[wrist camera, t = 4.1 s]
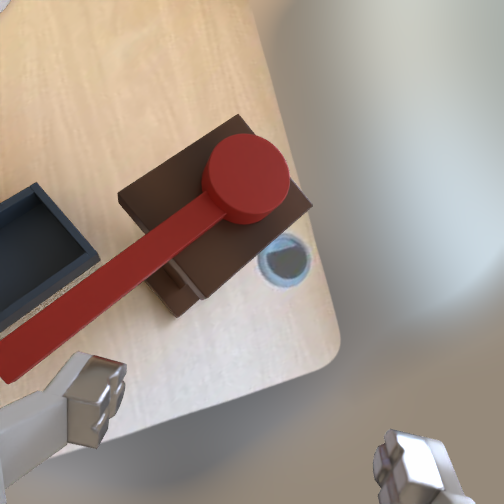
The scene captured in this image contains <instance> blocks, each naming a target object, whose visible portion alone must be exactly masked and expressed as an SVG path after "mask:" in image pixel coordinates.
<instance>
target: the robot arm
mask: <svg viewBox="0 0 504 504" xmlns="http://www.w3.org/2000/svg"><path fill="white" fill-rule="evenodd" d="M10 1H11V0H0V13H1V12H2V11H3V10H4V9H5V8H6V7H7V5H8V4H9V3H10ZM126 370H127V365H126V364H124V363H121V362H117V361H114V360H110V359H106V358H103V357H99V356H95V355H91V354H87V353H83V352H80V351H77V352H76V353H74V354H73V355H72V356H71V357H70V358H69V360H68V361H67V362H66V363H65V365H64V366H63V367H62V368H61V370H60V371H59V372H58V373H57V375H56V376H55V377H54V378H53V379H52V381H51V382H50V383H49V384H48V386H47V387H46V388H45V389H44V391H43V392H42V391H36V392H34V393H31V394H29V395H27V396H25V397H23V398H21V399H19V400H17V401H15V402H12V403H10V404H8V405H6V406H4V407H2V408H0V504H6V497H5V489H7V488H8V487H9V486H10V485H12V484H13V483H15V482H16V481H17V480H19V479H20V478H22V477H23V476H25V475H26V474H27V473H29V472H30V471H31V470H33V469H34V468H35V467H37V466H38V465H40V464H41V463H42V462H44V461H45V460H47V459H48V458H49V457H51V456H52V455H53V454H55V453H56V452H58V451H59V450H60V449H62V448H63V447H64V446H66V445H67V443H72V444H76V445H81V446H86V447H90V448H95V449H97V448H98V446H99V444H100V443H101V441H102V439H103V437H104V435H105V433H106V431H107V430H108V423H109V419H110V418H112V417H113V416H115V414H116V413H117V411H118V409H119V407H120V404H121V401H122V399H123V395H124V391H125V382H124V381H123V378H124V376H125V375H126ZM384 439H385V443H384V444H382V445H380V446H378V448H377V450H376V452H375V454H374V460H373V473H374V478H375V481H376V482H377V483H378V485H379V486H380V487H381V490H380V492H379V494H378V499H379V503H380V504H476V503H475V502H474V501H473V500H472V499H471V498H470V497H466V496H465V495H464V493H463V490H462V488H461V485H460V483H459V481H458V478H457V476H456V473H455V471H454V468H453V466H452V463H451V461H450V459H449V456H448V454H447V451H446V449H445V447H444V444H443V443H442V442H441V441H438V440H435V439H431V438H427V437H422V436H418V435H414V434H410V433H406V432H401V431H397V430H393V429H390V430H388V431H387V432H386V434H385V436H384Z"/></svg>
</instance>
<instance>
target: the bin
mask: <svg viewBox="0 0 504 504" xmlns="http://www.w3.org/2000/svg"><path fill="white" fill-rule="evenodd" d="M99 261H100V258H99V256H98V253H97V252H96V251H95V250H94V248H93V247H92V246H91V245H90V244H89V243H88V241H87V240H86V239H85V238H84V237H83V236H82V234H81V233H80V232H79V231H78V230H77V229H76V227H75V226H74V225H73V224H72V223H71V222H70V220H69V219H68V218H67V217H66V216H65V215H64V213H63V212H62V211H61V210H60V209H59V208H58V206H57V205H56V204H55V203H54V202H53V201H52V199H51V198H50V197H49V196H48V195H47V194H46V193H45V191H44V190H43V189H42V188H41V187H40V186H39V184H38V183H37V182H36V183H34V184H32V185H30V187H27V188H26V189H24V190H22V191H21V192H19V193H17V194H15V195H14V196H12V197H10V198H9V199H7V200H5V201H3V202H2V203H0V333H1V332H2V331H3V330H5V329H6V328H7V327H9V326H10V325H12V324H13V323H14V322H16V321H17V320H19V319H20V318H21V317H23V316H24V315H25V314H27V313H28V312H30V311H31V310H32V309H34V308H35V307H37V306H38V305H39V304H41V303H42V302H44V301H45V300H46V299H48V298H49V297H50V296H52V295H53V294H55V293H56V292H57V291H59V290H60V289H62V288H63V287H64V286H66V285H67V284H68V283H70V282H71V281H73V280H74V279H75V278H77V277H78V276H80V275H81V274H82V273H84V272H85V271H86V270H88V269H89V268H91V267H92V266H93V265H95V264H96V263H98V262H99Z"/></svg>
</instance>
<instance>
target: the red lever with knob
mask: <svg viewBox="0 0 504 504" xmlns="http://www.w3.org/2000/svg"><path fill="white" fill-rule="evenodd" d="M201 185H202V192H203V193H202V194H201V195H199V196H198V197H196V198H195V199H194V200H192V201H191V202H190V203H188V204H187V205H185V206H184V207H183V208H181V209H180V210H179V211H177V212H176V213H175V214H173V215H172V216H170V217H169V218H168V219H166V220H165V221H164V222H162V223H161V224H159V225H158V226H157V227H155V228H154V229H153V230H151V231H150V232H148V233H147V234H146V235H144V236H143V237H142V238H140V239H139V240H138V241H136V242H135V243H133V244H132V245H131V246H129V247H128V248H127V249H125V250H124V251H122V252H121V253H120V254H118V255H117V256H116V257H114V258H113V259H111V260H110V261H109V262H107V263H106V264H105V265H103V266H102V267H101V268H99V269H98V270H96V271H95V272H94V273H92V274H91V275H90V276H88V277H87V278H85V279H84V280H83V281H81V282H80V283H79V284H77V285H76V286H74V287H73V288H72V289H70V290H69V291H68V292H66V293H65V294H64V295H62V296H61V297H59V298H58V299H57V300H55V301H54V302H53V303H51V304H50V305H48V306H47V307H46V308H44V309H43V310H42V311H40V312H39V313H37V314H36V315H35V316H33V317H32V318H31V319H29V320H28V321H27V322H25V323H24V324H22V325H21V326H20V327H18V328H17V329H16V330H14V331H13V332H11V333H10V334H9V335H7V336H6V337H5V338H3V339H2V340H0V377H1V378H2V379H3V380H4V381H5V383H6V384H10V383H12V382H15V381H17V380H18V379H19V378H20V377H22V376H23V375H24V374H25V373H27V372H28V371H29V370H31V369H32V368H33V367H34V366H36V365H37V364H38V363H39V362H41V361H42V360H43V359H45V358H46V357H47V356H48V355H50V354H51V353H52V352H54V351H55V350H56V349H57V348H59V347H60V346H61V345H62V344H64V343H65V342H66V341H68V340H69V339H70V338H71V337H73V336H74V335H75V334H76V333H78V332H79V331H80V330H82V329H83V328H84V327H85V326H87V325H88V324H89V323H90V322H92V321H93V320H94V319H96V318H97V317H98V316H99V315H101V314H102V313H103V312H104V311H106V310H107V309H108V308H110V307H111V306H112V305H113V304H115V303H116V302H117V301H119V300H120V299H121V298H122V297H124V296H125V295H126V294H127V293H129V292H130V291H131V290H133V289H134V288H135V287H136V286H138V285H139V284H140V283H141V282H143V281H144V280H145V279H147V278H148V277H149V276H150V275H152V274H153V273H154V272H155V271H157V270H158V269H159V268H161V267H162V266H163V265H164V264H166V263H167V262H168V261H170V260H171V259H172V258H173V257H175V256H176V255H177V254H178V253H180V252H181V251H182V250H184V249H185V248H186V247H187V246H189V245H190V244H191V243H192V242H194V241H195V240H196V239H198V238H199V237H200V236H201V235H203V234H204V233H205V232H206V231H208V230H209V229H210V228H212V227H213V226H214V225H215V224H217V223H218V222H219V221H220V220H222V219H224V220H227V221H229V222H232V223H235V224H252V223H255V222H258V221H260V220H262V219H263V218H265V217H266V216H267V215H268V214H270V213H271V212H272V211H273V210H274V209H275V208H277V207H278V206H279V205H280V204H281V203H282V202H283V200H284V199H285V197H286V195H287V193H288V190H289V186H290V173H289V168H288V165H287V163H286V160H285V159H284V157H283V155H282V154H281V152H280V151H279V150H278V149H277V148H276V147H275V146H274V145H273V144H272V143H270V142H269V141H267V140H266V139H264V138H262V137H259V136H256V135H253V134H236V135H232V136H229V137H227V138H225V139H223V140H222V141H221V142H219V143H218V144H217V145H216V146H215V148H214V149H213V151H212V153H211V155H210V157H209V160H208V162H207V164H206V166H205V168H204V171H203V174H202V180H201Z"/></svg>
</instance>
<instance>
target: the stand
mask: <svg viewBox="0 0 504 504" xmlns="http://www.w3.org/2000/svg"><path fill="white" fill-rule="evenodd" d="M236 134H253V135H255V134H254V132H253V131H252V130H251V129H250V127H249V126H248V125H247V124H246V123H245V121H244V120H243V119H242V118H241V116H240V115H239V114H237V115H235V116H234V117H232V118H231V119H229V120H228V121H226V122H225V123H223V124H222V125H220V126H219V127H217V128H216V129H214V130H213V131H211V132H209V133H208V134H206V135H205V136H203V137H202V138H200V139H199V140H197V141H196V142H194V143H193V144H191V145H190V146H188V147H187V148H185V149H184V150H182V151H181V152H179V153H177V154H176V155H174V156H173V157H171V158H170V159H168V160H167V161H165V162H164V163H162V164H161V165H159V166H158V167H156V168H155V169H153V170H152V171H150V172H148V173H147V174H145V175H144V176H142V177H141V178H139V179H138V180H136V181H135V182H133V183H132V184H130V185H129V186H127V187H126V188H124V189H123V190H121V191H120V192H118V202H119V204H120V205H121V206H122V208H123V209H124V210H125V211H126V212H127V213H128V215H129V216H130V217H131V218H132V219H133V221H134V222H135V223H136V224H137V225H138V226H139V228H140V229H141V230H142V231H143V232H144V233H145V235H146V234H147V233H148V232H150V231H151V230H153V229H154V228H155V227H157V226H158V225H159V224H161V223H162V222H164V221H165V220H166V219H168V218H169V217H170V216H172V215H173V214H175V213H176V212H177V211H179V210H180V209H181V208H183V207H184V206H185V205H187V204H188V203H190V202H191V201H192V200H194V199H195V198H196V197H198V196H199V195H201V194H202V193H203V192H202V185H201V180H202V174H203V171H204V168H205V166H206V164H207V162H208V160H209V157H210V155H211V153H212V151H213V149H214V148H215V146H216V145H217V144H218V143H219V142H221V141H222V140H223V139H225V138H227V137H229V136H232V135H236ZM312 206H313V204H312V203H311V202H310V201H309V199H308V198H307V197H306V196H305V195H304V194H303V192H302V191H301V190H300V188H299V187H298V186H297V185H296V184H295V182H294V181H293V180H292V179H291V177H290V186H289V190H288V193H287V195H286V197H285V199H284V200H283V202H282V203H281V204H280V205H279V206H278V207H277V208H275V209H274V210H273V211H272V212H271V213H270V214H268V215H267V216H266V217H265V218H263V219H262V220H260V221H258V222H255V223H252V224H235V223H232V222H229V221H227V220H224V219H222V220H220V221H219V222H218V223H217V224H215V225H214V226H213V227H212V228H210V229H209V230H208V231H206V232H205V233H204V234H203V235H201V236H200V237H199V238H198V239H196V240H195V241H194V242H192V243H191V244H190V245H189V246H187V247H186V248H185V249H184V250H182V251H181V252H180V253H178V254H177V255H176V256H175V257H173V258H172V259H171V260H170V261H168V262H167V263H166V264H164V265H163V266H162V267H161V268H159V269H158V270H157V271H155V272H154V273H153V274H152V275H150V276H149V277H148V278H147V279H145V280H144V281H145V282H146V283H147V284H148V286H149V287H150V288H151V289H152V290H153V291H154V293H155V294H156V295H157V296H158V297H159V298H160V300H161V301H162V302H163V303H164V304H165V305H166V307H167V308H168V309H169V310H170V311H171V312H172V314H173V315H174V316H175V317H176V318H178V317H179V316H181V315H182V314H183V313H184V312H185V311H186V310H187V309H189V308H190V307H191V306H192V305H193V304H194V303H196V302H197V301H198V300H199V299H201V300H204V299H207V298H208V297H209V296H211V295H212V294H213V293H214V292H215V291H216V290H217V289H219V288H220V287H221V286H222V285H223V284H224V283H225V282H227V281H228V280H229V279H230V278H231V277H232V276H233V275H235V274H236V273H237V272H238V271H239V270H240V269H241V268H243V267H244V266H245V265H246V264H247V263H248V262H250V261H251V260H252V259H253V258H254V257H255V256H256V255H258V254H259V253H260V252H261V251H262V250H263V249H264V248H266V247H267V246H268V245H269V244H270V243H271V242H272V241H274V240H275V239H276V238H277V237H278V236H279V235H280V234H282V233H283V232H284V231H285V230H286V229H287V228H288V227H290V226H291V225H292V224H293V223H294V222H295V221H296V220H298V219H299V218H300V217H301V216H302V215H303V214H304V213H306V212H307V211H308V210H309V209H310V208H311V207H312Z"/></svg>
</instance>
